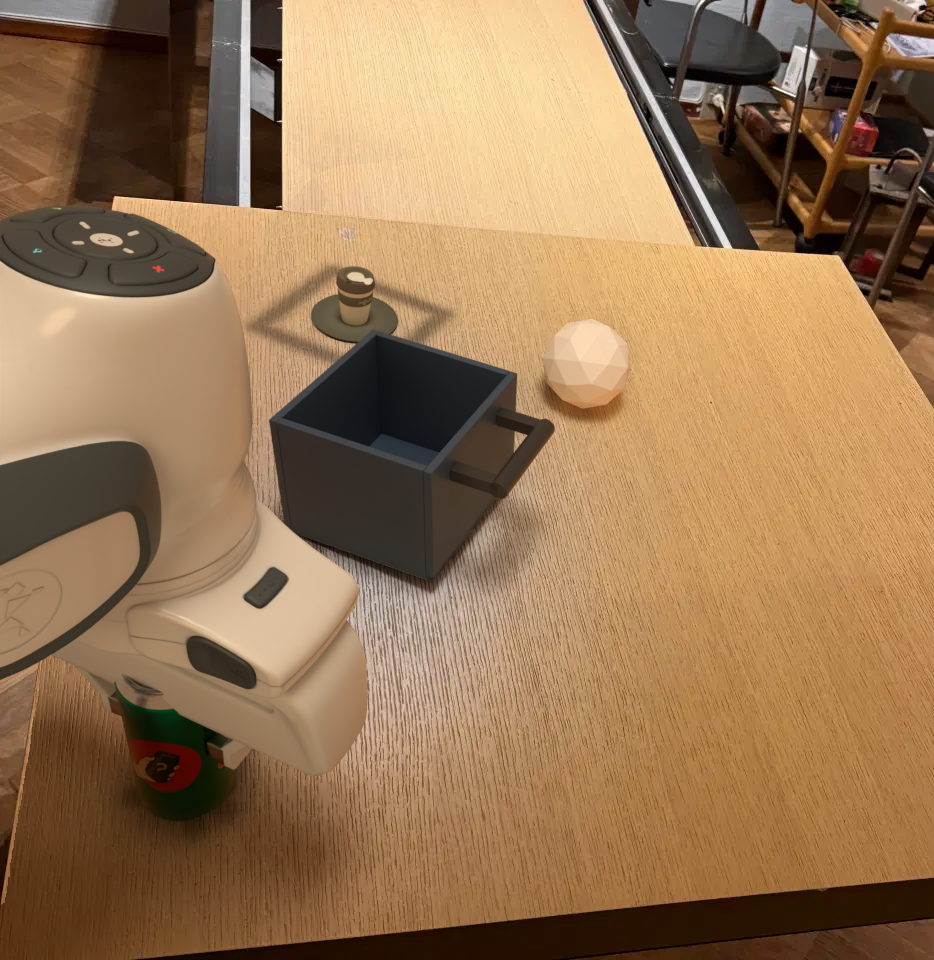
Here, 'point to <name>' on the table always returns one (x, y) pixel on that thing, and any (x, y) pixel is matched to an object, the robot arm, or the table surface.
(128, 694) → the soda can
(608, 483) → the table surface
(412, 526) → the handled storage box
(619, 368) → the geometric ball
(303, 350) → the table surface
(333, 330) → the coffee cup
